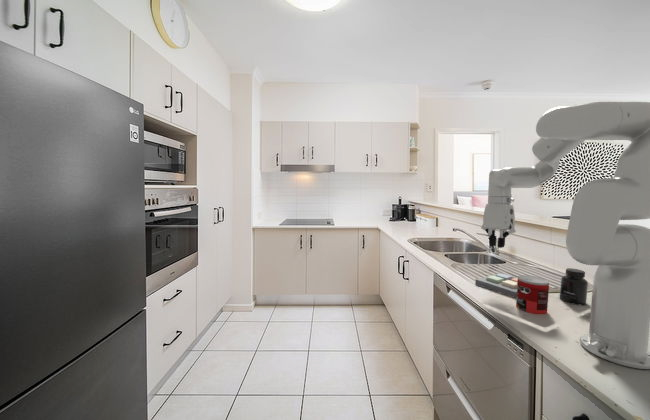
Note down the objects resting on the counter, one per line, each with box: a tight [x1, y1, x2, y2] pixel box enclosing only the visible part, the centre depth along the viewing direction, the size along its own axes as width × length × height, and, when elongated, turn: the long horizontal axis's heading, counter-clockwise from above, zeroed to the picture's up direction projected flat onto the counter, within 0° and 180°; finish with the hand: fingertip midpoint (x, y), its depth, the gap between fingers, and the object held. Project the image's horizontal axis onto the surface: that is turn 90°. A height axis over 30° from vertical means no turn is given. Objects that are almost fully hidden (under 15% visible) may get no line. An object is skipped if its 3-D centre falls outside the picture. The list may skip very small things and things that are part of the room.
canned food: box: [515, 274, 550, 316], centre depth 85 cm, size 8×8×11 cm
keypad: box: [475, 272, 517, 298], centre depth 105 cm, size 17×15×3 cm
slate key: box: [495, 272, 514, 281], centre depth 109 cm, size 4×4×2 cm
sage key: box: [486, 275, 504, 284], centre depth 106 cm, size 4×4×2 cm
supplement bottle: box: [558, 267, 589, 306], centre depth 91 cm, size 7×7×12 cm
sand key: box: [502, 280, 517, 289], centre depth 101 cm, size 4×4×2 cm
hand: (496, 246), depth 105 cm, fingers open, 2 cm apart
